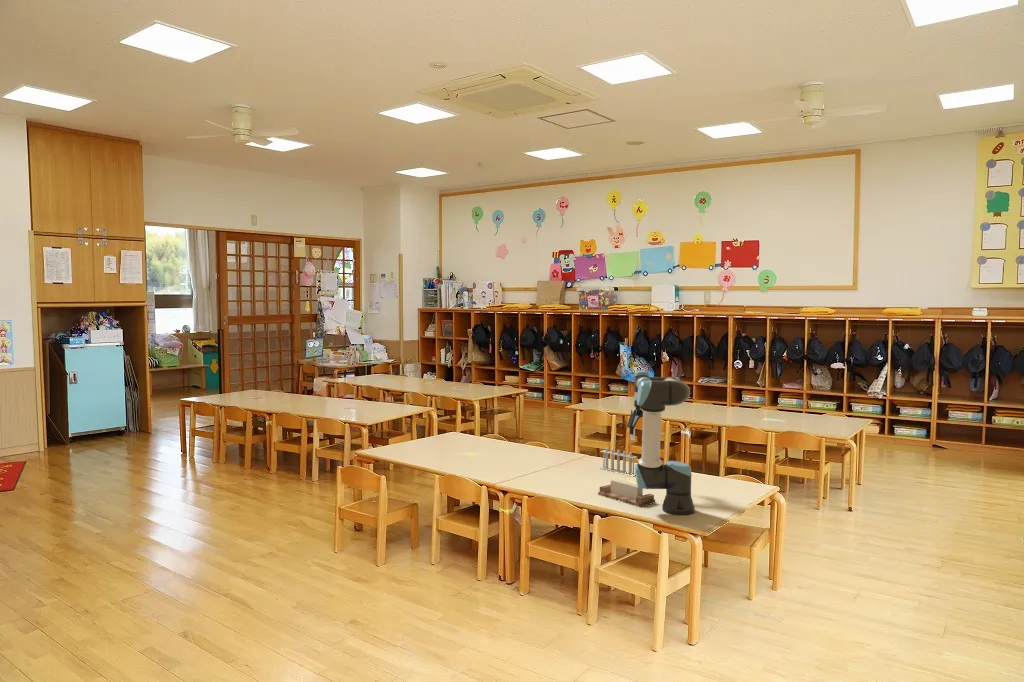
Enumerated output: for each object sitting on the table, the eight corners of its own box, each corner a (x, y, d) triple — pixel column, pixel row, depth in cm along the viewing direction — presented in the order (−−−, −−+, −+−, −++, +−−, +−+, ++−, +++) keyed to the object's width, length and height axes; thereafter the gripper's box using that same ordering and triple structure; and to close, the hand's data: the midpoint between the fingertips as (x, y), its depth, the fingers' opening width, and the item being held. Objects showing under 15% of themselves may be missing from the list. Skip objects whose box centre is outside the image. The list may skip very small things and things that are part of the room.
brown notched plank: (655, 502, 354) (655, 494, 354) (639, 506, 347) (639, 498, 347) (614, 490, 376) (614, 483, 376) (598, 494, 369) (598, 487, 369)
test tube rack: (637, 475, 410) (637, 452, 409) (632, 476, 407) (633, 454, 406) (604, 468, 429) (604, 446, 428) (599, 469, 426) (599, 447, 425)
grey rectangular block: (642, 498, 356) (642, 486, 356) (637, 500, 353) (637, 487, 353) (615, 491, 370) (615, 479, 369) (610, 492, 367) (610, 480, 367)
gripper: (651, 396, 390) (650, 434, 392) (620, 401, 374) (620, 440, 376) (661, 398, 384) (661, 436, 386) (631, 402, 369) (630, 442, 370)
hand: (641, 438), depth 381 cm, fingers open, 13 cm apart
